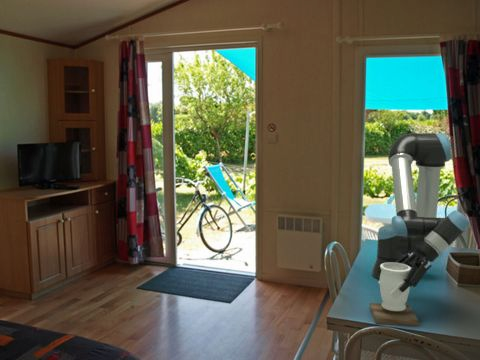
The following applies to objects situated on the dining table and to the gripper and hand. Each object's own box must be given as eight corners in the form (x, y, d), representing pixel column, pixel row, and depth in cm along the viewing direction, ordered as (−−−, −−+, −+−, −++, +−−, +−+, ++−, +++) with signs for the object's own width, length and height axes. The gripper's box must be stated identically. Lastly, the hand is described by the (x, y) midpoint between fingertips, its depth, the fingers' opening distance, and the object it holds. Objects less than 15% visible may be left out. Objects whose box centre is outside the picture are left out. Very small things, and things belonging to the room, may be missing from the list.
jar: (408, 315, 160) (410, 272, 158) (377, 310, 164) (378, 268, 162) (409, 303, 170) (411, 263, 168) (379, 299, 173) (381, 260, 171)
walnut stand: (369, 308, 175) (369, 302, 174) (408, 309, 173) (408, 304, 173) (376, 323, 161) (376, 318, 161) (418, 326, 159) (418, 320, 159)
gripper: (455, 264, 154) (406, 310, 155) (423, 245, 177) (381, 286, 177) (440, 248, 153) (392, 295, 154) (410, 232, 176) (368, 273, 176)
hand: (386, 290), depth 166 cm, fingers closed on jar, 10 cm apart
